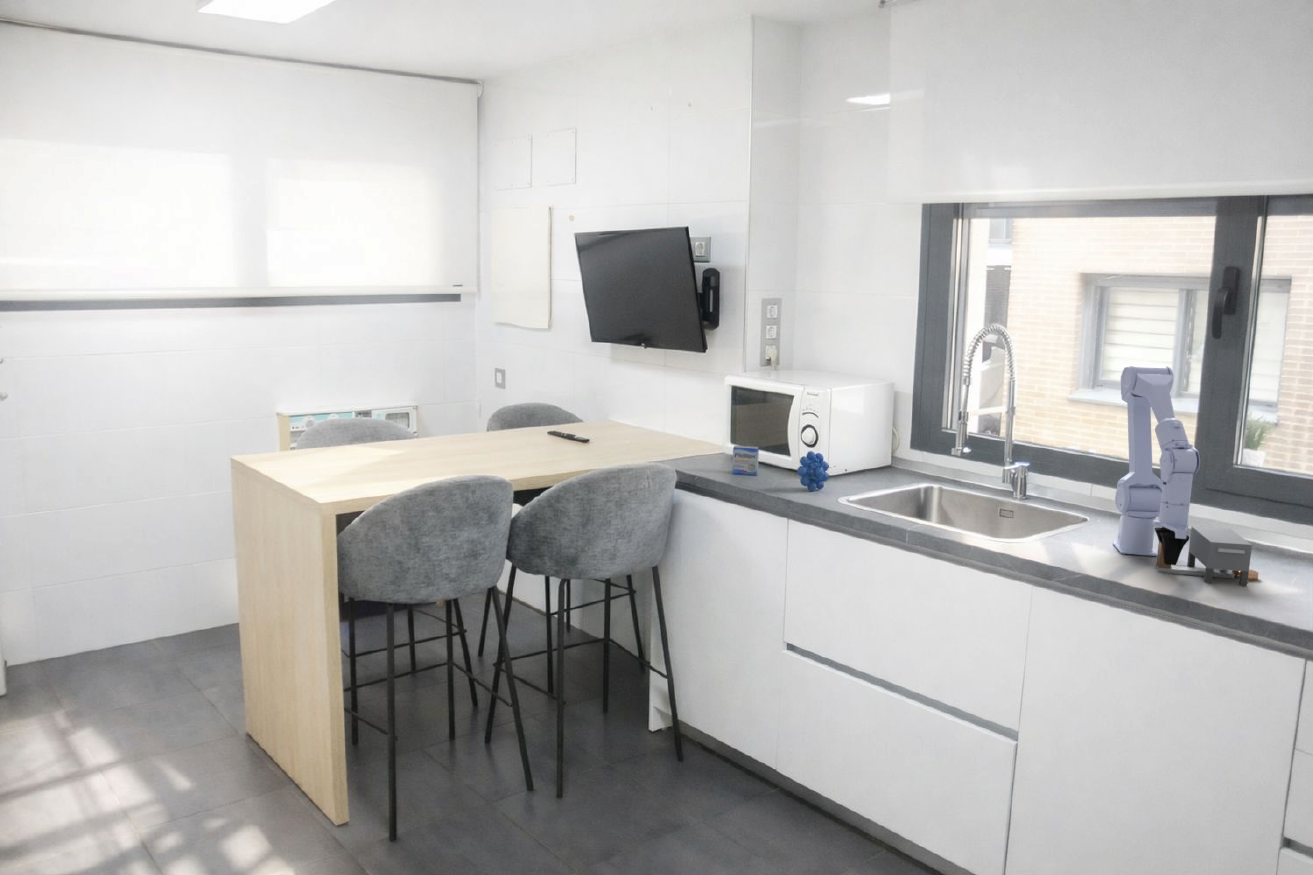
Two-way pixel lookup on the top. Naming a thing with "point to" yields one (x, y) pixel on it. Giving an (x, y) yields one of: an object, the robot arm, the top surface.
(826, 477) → the grapes
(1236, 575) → the copper token
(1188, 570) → the scraper
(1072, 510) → the top surface
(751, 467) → the medicine box
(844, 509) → the top surface
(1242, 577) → the low cabinet
